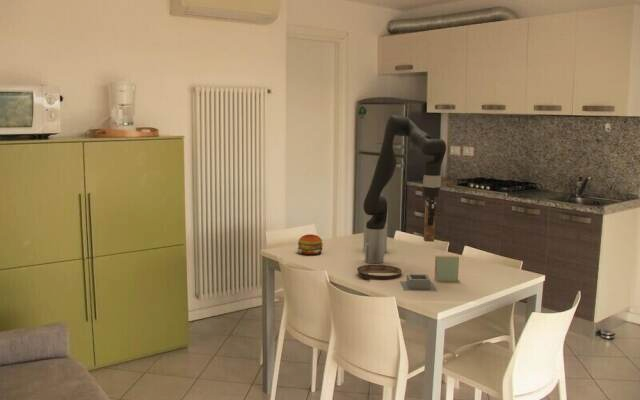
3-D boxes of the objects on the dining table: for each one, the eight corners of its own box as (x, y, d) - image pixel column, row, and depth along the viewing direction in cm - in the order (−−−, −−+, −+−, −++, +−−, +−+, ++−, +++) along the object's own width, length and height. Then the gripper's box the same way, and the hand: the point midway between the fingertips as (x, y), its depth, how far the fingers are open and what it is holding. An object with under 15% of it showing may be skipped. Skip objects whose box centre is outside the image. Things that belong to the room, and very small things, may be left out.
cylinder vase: (391, 252, 325) (392, 206, 321) (373, 255, 318) (374, 208, 314) (376, 248, 335) (377, 203, 331) (358, 250, 328) (359, 205, 324)
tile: (435, 283, 267) (436, 256, 265) (434, 281, 270) (435, 255, 268) (457, 283, 267) (459, 257, 265) (456, 281, 270) (457, 255, 268)
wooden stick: (424, 241, 262) (426, 205, 259) (423, 239, 266) (425, 203, 263) (434, 241, 262) (436, 205, 259) (432, 239, 266) (434, 203, 263)
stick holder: (403, 292, 252) (404, 281, 251) (399, 283, 266) (400, 272, 265) (437, 293, 252) (437, 281, 251) (431, 283, 266) (431, 272, 265)
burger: (327, 254, 319) (328, 235, 317) (306, 257, 311) (306, 238, 310) (313, 249, 330) (313, 231, 328) (292, 252, 322) (292, 233, 321)
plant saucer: (373, 268, 292) (373, 261, 292) (410, 276, 279) (410, 269, 279) (347, 276, 276) (347, 269, 276) (385, 285, 263) (385, 278, 263)
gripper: (420, 183, 267) (418, 221, 270) (425, 187, 253) (423, 227, 256) (437, 183, 267) (435, 221, 270) (443, 187, 253) (440, 228, 256)
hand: (429, 224), depth 263 cm, fingers closed on wooden stick, 4 cm apart
